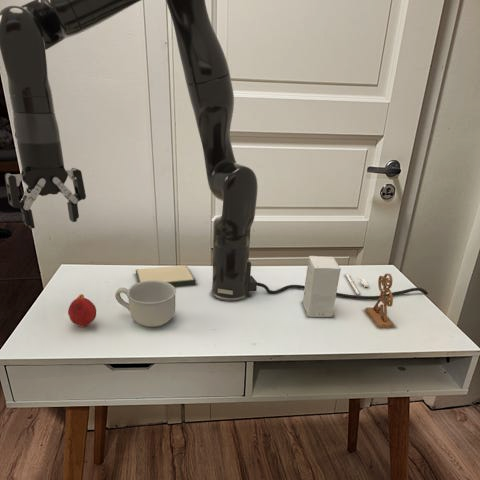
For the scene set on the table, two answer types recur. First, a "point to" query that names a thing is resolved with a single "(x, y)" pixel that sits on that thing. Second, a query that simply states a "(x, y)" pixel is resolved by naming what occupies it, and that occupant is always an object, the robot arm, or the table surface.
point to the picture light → (353, 284)
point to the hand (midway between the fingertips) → (53, 224)
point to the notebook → (167, 275)
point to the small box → (321, 286)
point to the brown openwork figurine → (377, 312)
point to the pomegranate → (82, 311)
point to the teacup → (149, 302)
